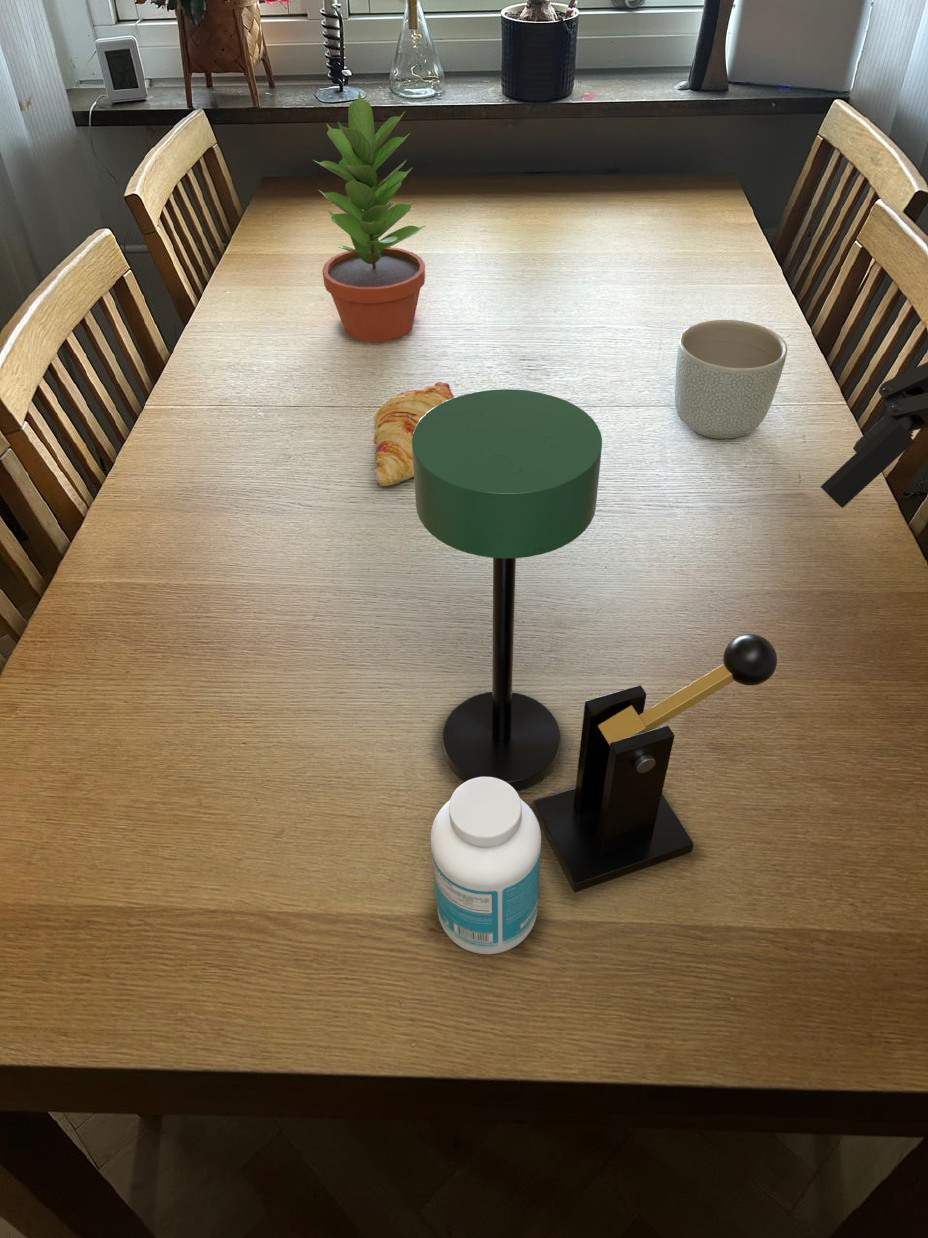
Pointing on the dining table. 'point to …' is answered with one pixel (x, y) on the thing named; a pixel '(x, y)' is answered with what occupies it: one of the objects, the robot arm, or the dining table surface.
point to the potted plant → (371, 235)
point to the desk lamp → (505, 545)
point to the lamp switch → (700, 687)
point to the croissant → (402, 430)
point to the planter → (727, 376)
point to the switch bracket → (614, 801)
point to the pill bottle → (486, 866)
